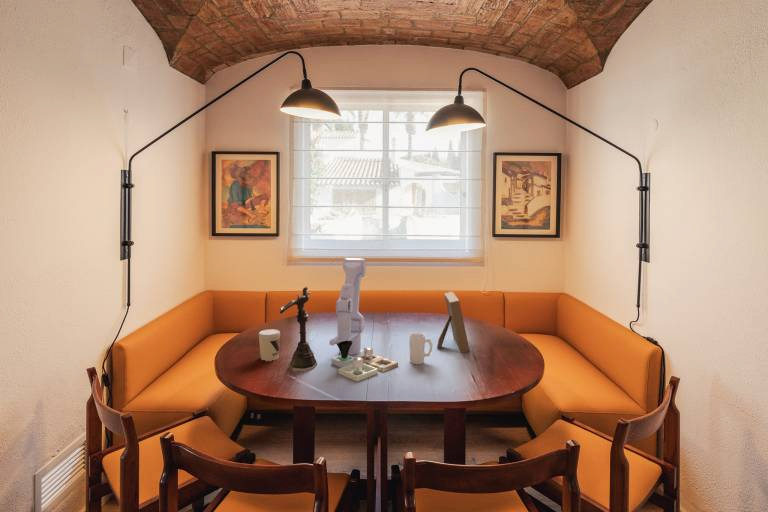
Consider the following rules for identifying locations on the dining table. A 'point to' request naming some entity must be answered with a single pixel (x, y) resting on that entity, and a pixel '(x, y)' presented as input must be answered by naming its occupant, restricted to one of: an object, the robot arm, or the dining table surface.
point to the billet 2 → (368, 353)
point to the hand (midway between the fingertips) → (344, 357)
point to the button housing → (342, 363)
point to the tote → (367, 372)
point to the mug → (418, 348)
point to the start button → (343, 358)
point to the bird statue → (301, 337)
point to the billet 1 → (358, 366)
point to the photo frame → (455, 323)
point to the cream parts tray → (378, 360)
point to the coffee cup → (269, 344)
